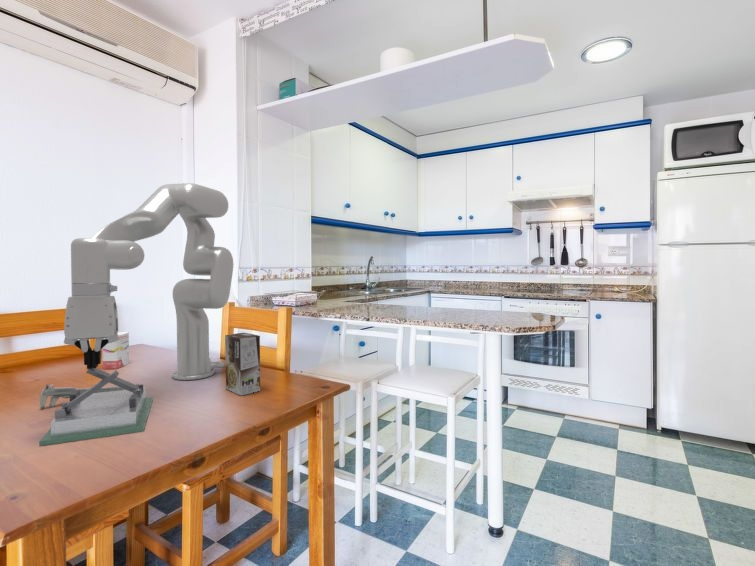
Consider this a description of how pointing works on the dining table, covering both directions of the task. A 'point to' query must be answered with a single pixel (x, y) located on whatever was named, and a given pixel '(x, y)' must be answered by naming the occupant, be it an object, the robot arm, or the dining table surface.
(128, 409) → the base
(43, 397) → the caliper
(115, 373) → the strap
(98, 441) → the dining table surface
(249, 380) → the coffee box
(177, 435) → the dining table surface
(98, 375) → the strap
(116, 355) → the ink cartridge box
